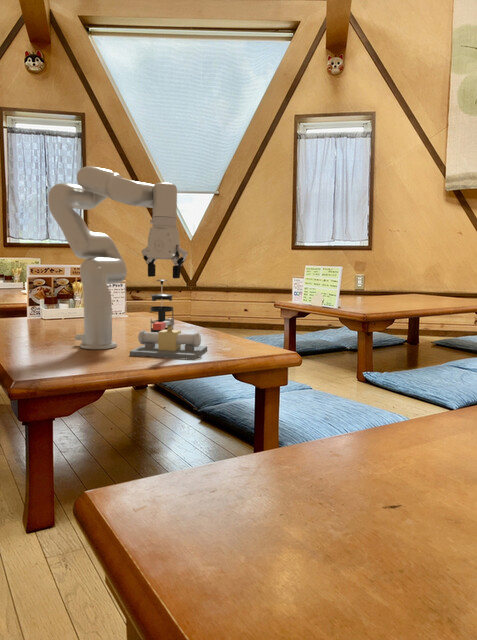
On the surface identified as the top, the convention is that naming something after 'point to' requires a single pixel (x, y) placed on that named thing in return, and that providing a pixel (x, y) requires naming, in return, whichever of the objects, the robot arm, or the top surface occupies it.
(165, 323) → the lever
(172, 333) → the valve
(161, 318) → the french press
